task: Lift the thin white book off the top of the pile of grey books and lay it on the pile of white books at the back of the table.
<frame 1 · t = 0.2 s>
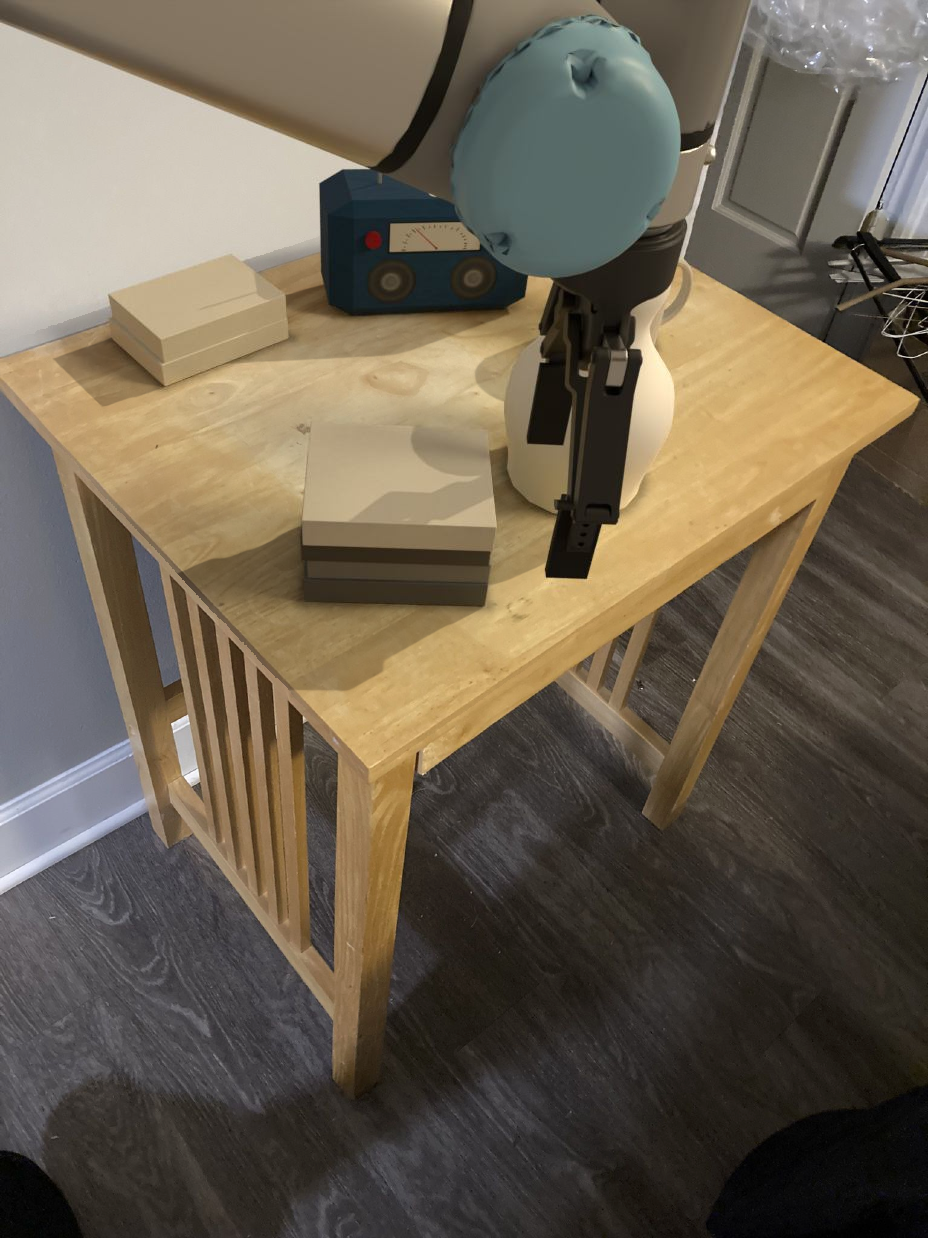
hand: (554, 503, 67), 11 cm above the table, tool pointing down, fingers open, 13 cm apart
white books: (201, 338, 96), on the table
grey books: (394, 562, 78), on the table
vase: (572, 474, 87), on the table
radio: (422, 299, 105), on the table
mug: (622, 341, 103), on the table
white book: (398, 496, 73), point 7 cm above the table, touching grey books
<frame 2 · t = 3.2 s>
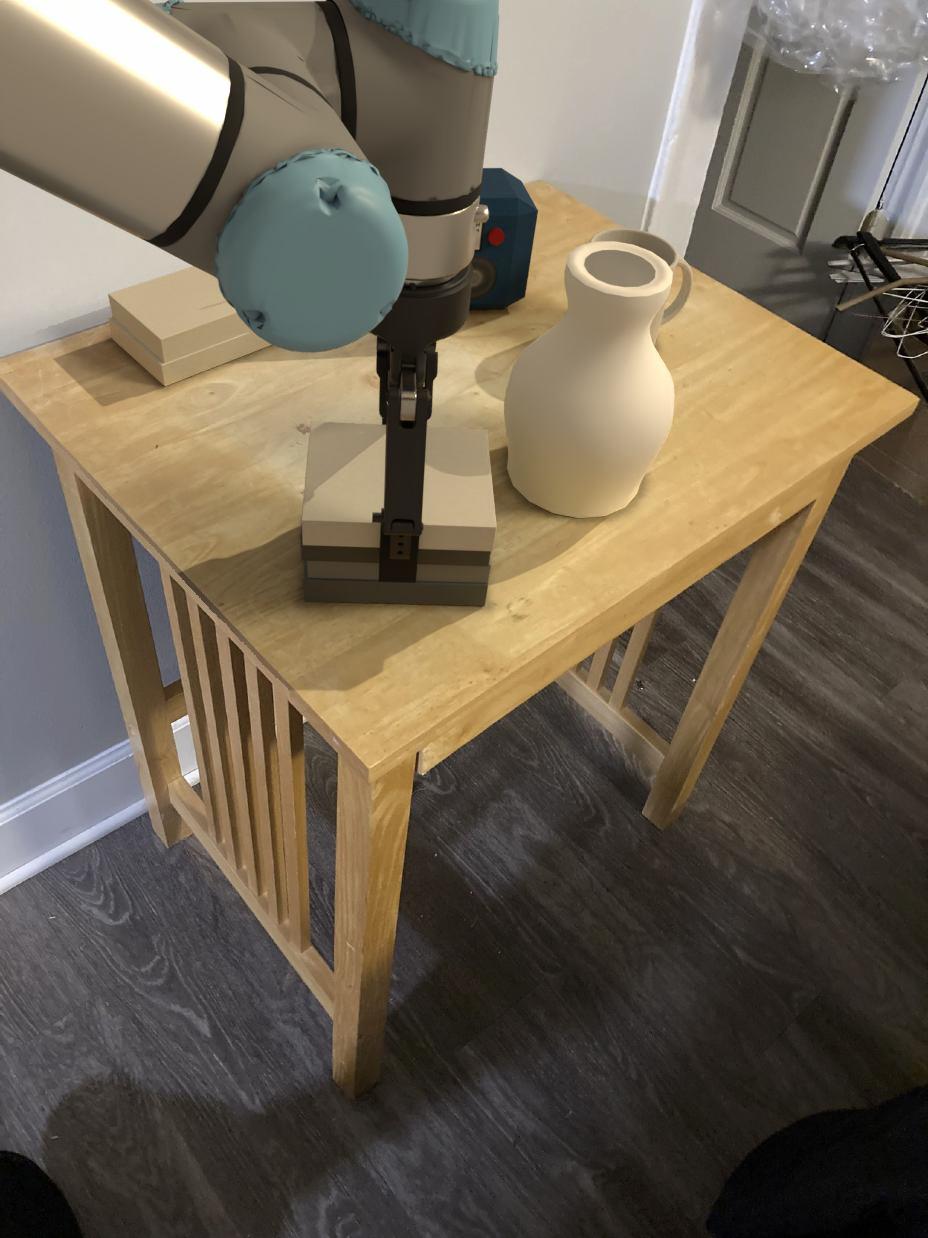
hand: (397, 523, 75), 4 cm above the table, tool pointing down, fingers closed on white book, 11 cm apart
white book: (398, 496, 73), point 7 cm above the table, touching grey books, gripper
everything else where it was.
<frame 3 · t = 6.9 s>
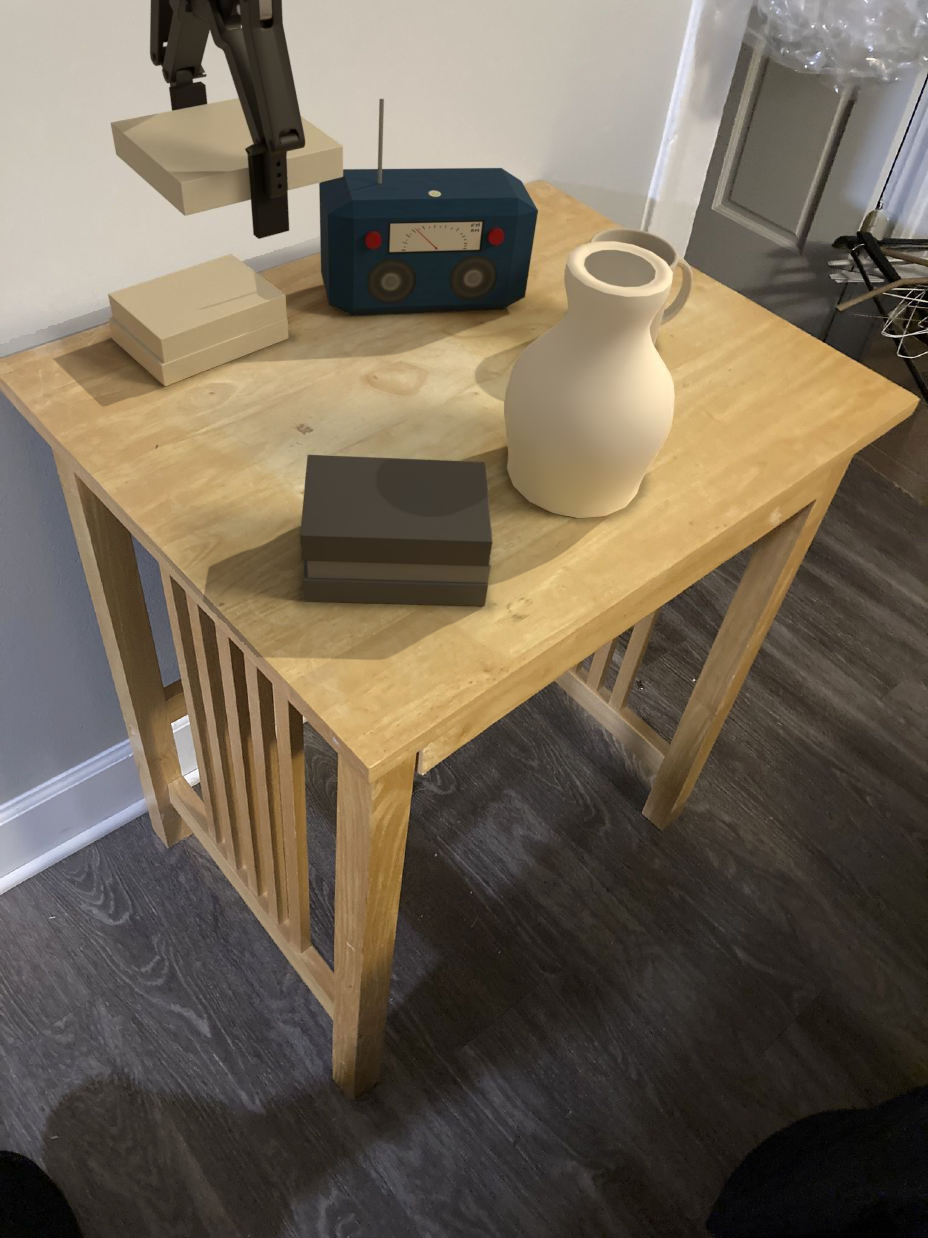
hand: (232, 200, 77), 18 cm above the table, tool pointing down, fingers closed on white book, 11 cm apart
white book: (230, 165, 75), point 21 cm above the table, touching gripper
everything else where it was.
when the fingers open (2 cm above the table, at t = 10.9 s): white book stays where it is, resting on white books.
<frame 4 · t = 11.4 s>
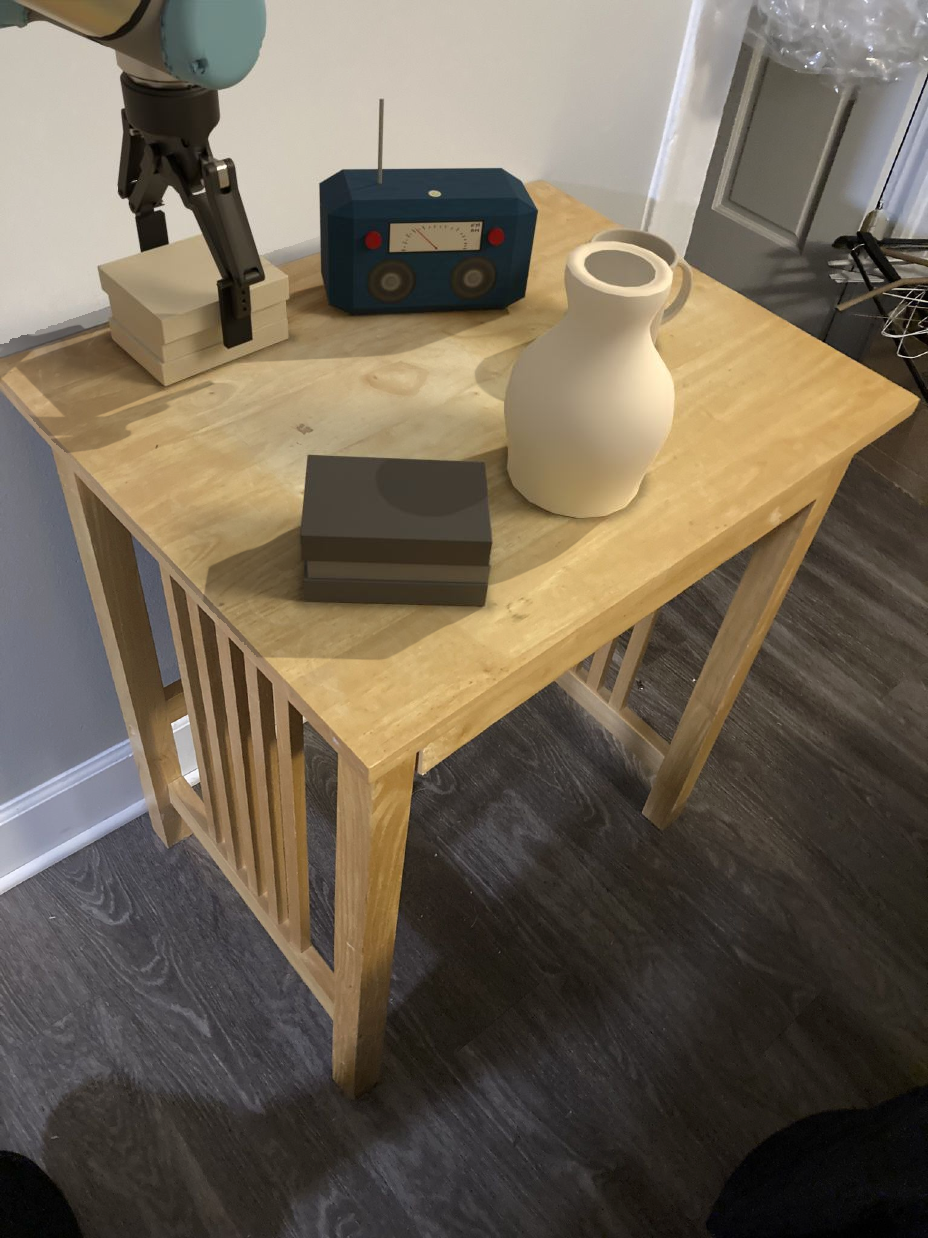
hand: (197, 309, 93), 3 cm above the table, tool pointing down, fingers open, 13 cm apart
white book: (196, 294, 92), point 5 cm above the table, touching white books
everything else where it was.
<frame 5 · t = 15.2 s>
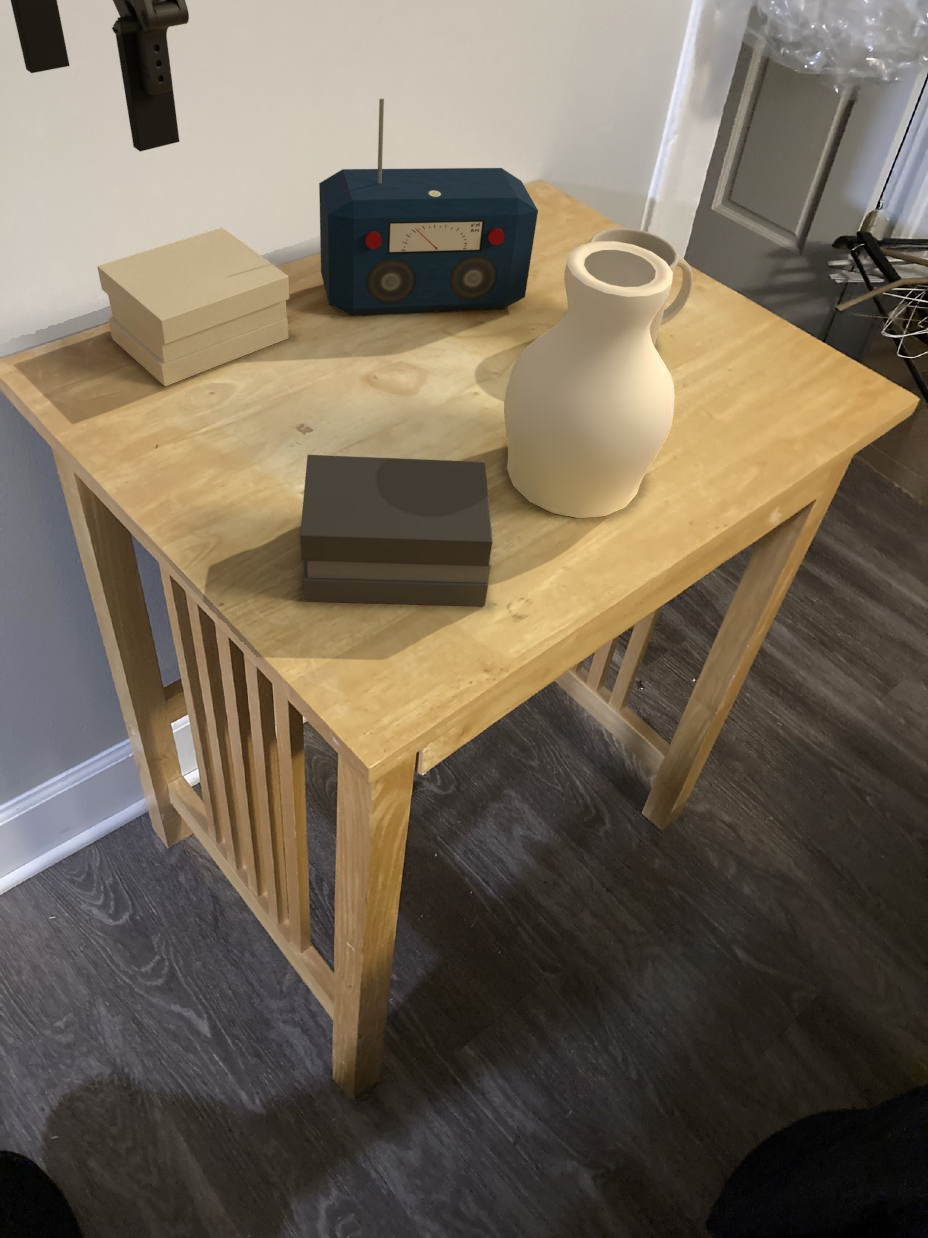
hand: (99, 104, 62), 29 cm above the table, tool pointing down, fingers open, 13 cm apart
nothing on the table moved.
at the end: white book 0.0 cm off-centre on the white books, point 4.8 cm above the white books's base; white book tilted 0°; the gripper is holding nothing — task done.
